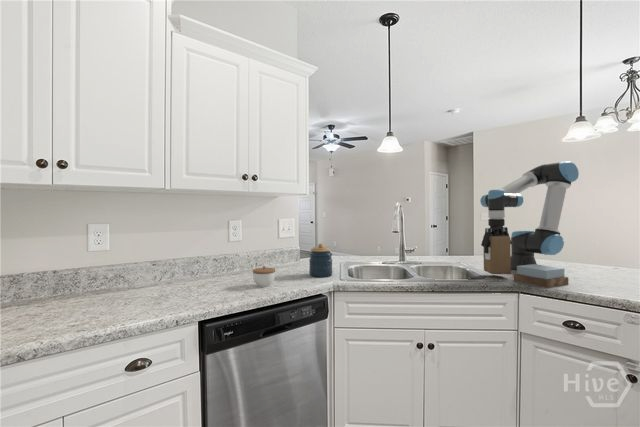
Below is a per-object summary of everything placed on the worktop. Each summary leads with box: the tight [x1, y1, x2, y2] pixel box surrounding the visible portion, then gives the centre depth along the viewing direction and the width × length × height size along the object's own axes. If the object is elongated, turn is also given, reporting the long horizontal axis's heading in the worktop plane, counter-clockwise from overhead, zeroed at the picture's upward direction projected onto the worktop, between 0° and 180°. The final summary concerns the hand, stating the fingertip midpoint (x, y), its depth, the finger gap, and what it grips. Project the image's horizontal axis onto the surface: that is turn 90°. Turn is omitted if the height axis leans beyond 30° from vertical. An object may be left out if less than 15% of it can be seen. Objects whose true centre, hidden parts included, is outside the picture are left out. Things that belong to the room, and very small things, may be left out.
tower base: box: [513, 272, 569, 288], centre depth 152 cm, size 16×16×4 cm
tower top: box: [516, 263, 565, 279], centre depth 152 cm, size 14×14×4 cm
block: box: [482, 235, 512, 275], centre depth 164 cm, size 10×10×20 cm
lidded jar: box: [252, 265, 276, 288], centre depth 148 cm, size 11×11×9 cm
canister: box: [308, 243, 333, 278], centre depth 171 cm, size 13×13×18 cm
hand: (496, 258), depth 164 cm, fingers closed on block, 12 cm apart
